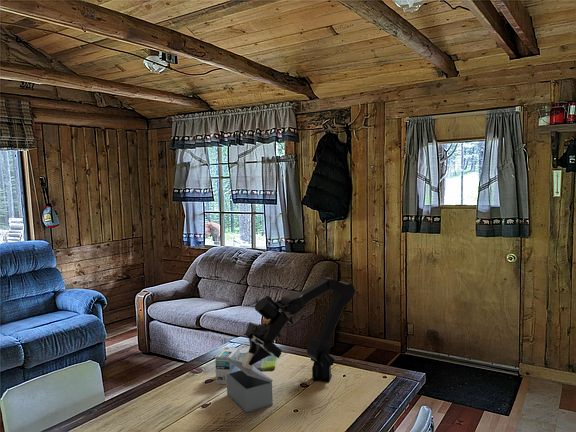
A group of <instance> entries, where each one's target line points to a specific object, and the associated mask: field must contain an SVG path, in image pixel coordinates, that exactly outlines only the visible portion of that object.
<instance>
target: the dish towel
mask: <svg viewBox="0 0 576 432" xmlns="http://www.w3.org/2000/svg"><path fill="white" fill-rule="evenodd" d="M239 353H240V361H241V362H243V361H244V359H245V356H246V354H247V352H239ZM270 354H271V356H268V357H266V358H264V359H262V360H260V361H258V362H256V363H255V364H254V365H253V366H254V367H255V368H257V369H258V370H259V371H261V372H262V371H268V370H270V371H271V370H275V369H276V365H277V359H278V358H277V357H276V356H274V354H273V353H270Z"/></svg>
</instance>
